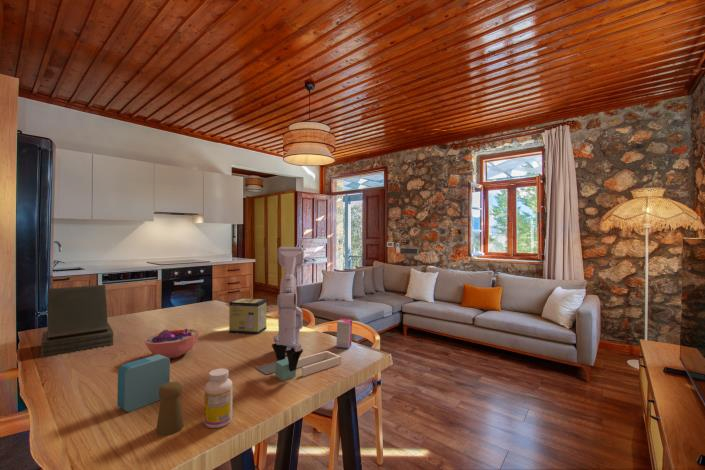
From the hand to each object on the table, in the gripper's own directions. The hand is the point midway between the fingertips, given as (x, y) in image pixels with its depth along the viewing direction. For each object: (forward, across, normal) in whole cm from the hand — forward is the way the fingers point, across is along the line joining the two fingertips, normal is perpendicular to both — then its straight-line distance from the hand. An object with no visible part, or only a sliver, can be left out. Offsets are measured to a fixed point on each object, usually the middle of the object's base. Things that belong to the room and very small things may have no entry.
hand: (286, 367), depth 113 cm
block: (+3, 0, 0) cm, 3 cm away
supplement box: (+3, -10, +35) cm, 37 cm away
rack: (+3, 0, +12) cm, 12 cm away
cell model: (+3, -46, -24) cm, 52 cm away
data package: (+3, -11, -40) cm, 42 cm away
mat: (+3, -9, -1) cm, 10 cm away
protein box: (+3, -60, +14) cm, 62 cm away
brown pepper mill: (+3, +8, -38) cm, 39 cm away
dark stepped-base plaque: (+3, -87, -51) cm, 101 cm away
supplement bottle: (+3, +13, -28) cm, 31 cm away
